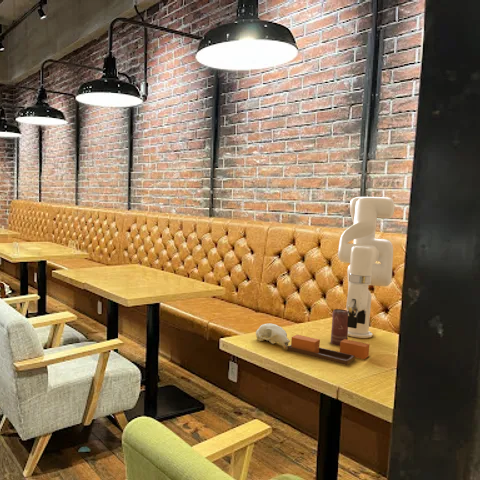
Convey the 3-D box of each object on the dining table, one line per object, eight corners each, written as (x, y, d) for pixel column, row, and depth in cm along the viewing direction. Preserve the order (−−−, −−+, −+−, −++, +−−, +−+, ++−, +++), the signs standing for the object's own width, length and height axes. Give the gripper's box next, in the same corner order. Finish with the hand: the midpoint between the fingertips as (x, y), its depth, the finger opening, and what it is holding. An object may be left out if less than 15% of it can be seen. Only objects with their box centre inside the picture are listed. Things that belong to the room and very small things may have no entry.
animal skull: (273, 352, 180) (270, 325, 182) (253, 349, 196) (250, 324, 197) (297, 349, 183) (294, 322, 185) (275, 346, 199) (273, 321, 200)
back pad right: (343, 351, 185) (344, 338, 185) (368, 357, 180) (369, 344, 179) (339, 354, 182) (340, 341, 181) (364, 360, 176) (365, 347, 176)
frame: (296, 347, 189) (296, 342, 189) (354, 361, 175) (354, 355, 175) (287, 351, 182) (287, 346, 182) (346, 366, 168) (347, 361, 168)
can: (348, 347, 190) (351, 312, 189) (331, 346, 192) (334, 311, 190) (346, 343, 196) (348, 309, 195) (329, 341, 198) (332, 308, 196)
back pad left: (296, 347, 187) (297, 334, 187) (319, 352, 181) (319, 339, 181) (290, 349, 183) (291, 337, 183) (313, 355, 178) (314, 342, 177)
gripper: (356, 276, 187) (353, 320, 188) (341, 280, 174) (337, 327, 175) (377, 279, 182) (373, 323, 184) (363, 283, 169) (359, 331, 170)
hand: (356, 325), depth 179 cm, fingers open, 9 cm apart
